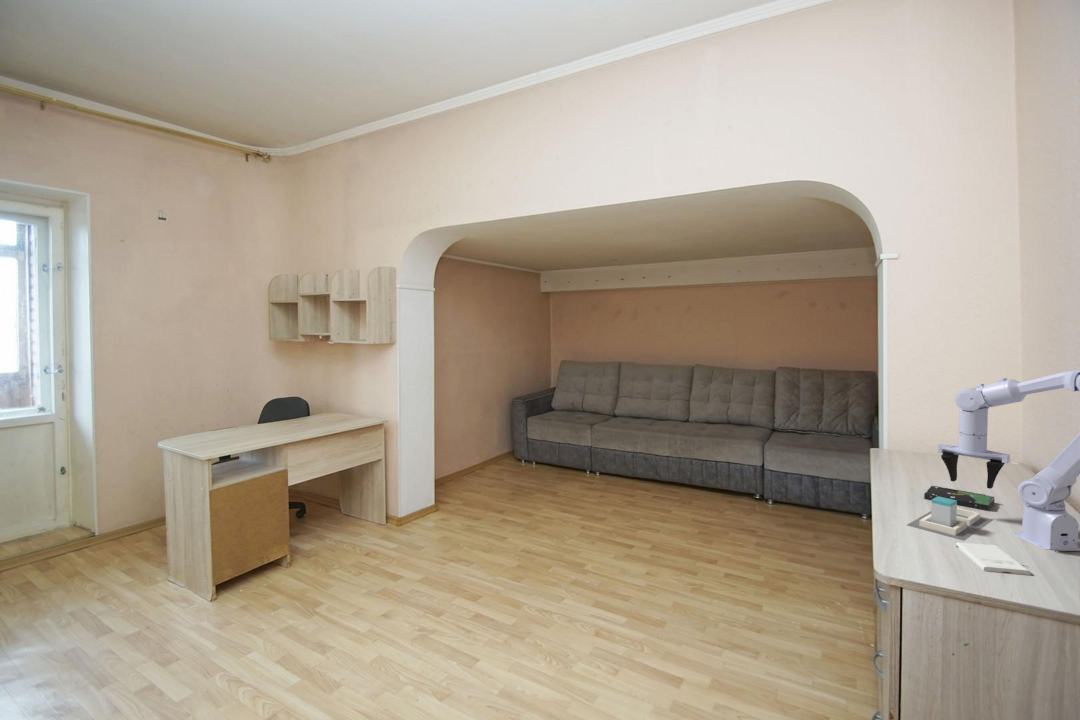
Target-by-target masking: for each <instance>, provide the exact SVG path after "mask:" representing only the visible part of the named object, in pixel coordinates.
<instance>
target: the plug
mask: <svg viewBox="0 0 1080 720" xmlns="http://www.w3.org/2000/svg"><path fill="white" fill-rule="evenodd" d="M957 506H958V505H957V500H952V499H948V498H943V497H939V496H938V497H936V498H934V499H932V501H931V510H930V511H931V522H932V523H936V524H940V525H944V526H948V527H952V528H953V527H955V526H956V511H957V508H958V507H957Z"/></svg>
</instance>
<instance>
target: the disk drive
mask: <svg viewBox="0 0 1080 720" xmlns="http://www.w3.org/2000/svg"><path fill="white" fill-rule="evenodd" d="M923 495H924V496H923V500H925V501H926V500H928V501H931V502H932V499H934V498H936V497H938V496H939V497H943V498H948V499H952V500H957V506H959V507H964V508H970V509H976V510H978V511H979V510H980V511H986V512H990V511H991V510H992V507H993V506H994V505H995V502H996V501H995V496H993V495H988V494H984V493H983V494H982V493H976V492H971V491H967V490H965V491H964V490H959V489H953V488H947V487H942V486H937V485H931V486H930V487H929V488H928V489H927V491H926V492H924V493H923Z"/></svg>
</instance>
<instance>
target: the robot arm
mask: <svg viewBox="0 0 1080 720" xmlns="http://www.w3.org/2000/svg"><path fill="white" fill-rule="evenodd" d="M1060 389H1065V390H1068V391H1072V392H1078V391H1079V392H1080V369H1076V370H1070V371H1062V372H1059V373H1055V374H1050V375H1047V376H1046V375H1045V376H1042V377H1038V378H1034V379H1029V380H1026V381H1023V382H1022V381H1018V380H1016V379H1013V378H1010V379H1007V378H1006V377H1004V378H998V379H997V382H993V383H988V384H984V383H980V384H977V385H976V387H971V388H968V387H967V388H964V389H961V390H959V391H957V392H956V394H955V396H954V402H955V404H956V406H957V407H958V408H959V409H958V411H959V416H958V445H949V444H948V445H947V444H938V445H937V453H940V454H941V456H940V457H941V460H942V461H943V464H944V465H945V466H946V469H947V471H948V474H949V475H948V476H949V478H950V479H949V480H950V482H955V481H957V480H958V461H959V456H964V457H969V458H975V459H981V460H988V461H986V464H985V465H986V471H987V472H986V473H987V478H986V479H987V480H986V488H987V489H992V488H994V484H995V481H996V478H997V477H998V474H999V472H1000V471H1001V470H1002V468H1003V467H1004V466H1005V464H1009V463H1010V460H1011V459H1010V457H1011V455H1010V454H1009V453H1003V452H998V451H994V450H988V423H989V422H988V420H989V419H988V418H989V416H988V415H989V409H990V408H994V407H998V406H999V407H1000V406H1004V405H1009V404H1014V403H1015V404H1016V403H1020V402H1022V401H1024V399H1025V397H1026V396H1027V395H1032V394H1038V393H1043V392H1047V391H1054V390H1060ZM1079 476H1080V432H1079V433H1078V434H1077V435H1076V436H1075V437H1074V438H1073V439H1072V440H1071V442H1069V443H1068V445H1067V446H1066V447H1064V449H1063V450H1062V451H1061V452H1060V453H1059V454H1058V455H1057V456H1056V457H1055V458H1054V459H1053V461H1051V462H1050V463H1049V464H1048V466H1046V467H1045V468H1043V469H1042V470H1040V471H1039V472H1037V473H1036V474H1034V476H1033V477H1031V478H1029V479H1026V480H1024V481H1022V482H1020V484H1019V485H1018V487H1017V493H1018V495H1019V497H1020V499H1021V500H1022V519H1021V520H1022V521H1021V523H1022V524H1021V531H1019V532H1017V531H1013V532H1011V534H1012V535H1014V536H1016V537H1018V538H1021V539H1023V540H1024V541H1027V542H1029V543H1030V544H1032V545H1035V546H1036V547H1038V548H1040V549H1042V550H1046V551H1048V550H1049V551H1054V550H1055V552H1059V551H1060V552H1070V551H1071V552H1073V551H1075V552H1080V547H1079V522H1078V520H1077V519H1076V518H1075V517H1074V516H1072V515H1071V514H1069V513H1068V512H1067V511H1068V510H1067V509H1066V504H1065V500H1067V499H1068V498H1069V497H1071V494H1072V487H1074V485H1075V484H1077V478H1078V477H1079Z"/></svg>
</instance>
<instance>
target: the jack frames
mask: <svg viewBox="0 0 1080 720" xmlns="http://www.w3.org/2000/svg"><path fill="white" fill-rule="evenodd" d="M956 514H958V515H962V516H967V517H969V518H963V517H959V516H956V526H955V527H953V528H952V527H948V526H944V525H940V524H936V523H932V522H931V514H929V515H928V516H926V517H924V518H923V519H921V520H919V526H922V527H925V528H929V529H933V530H937V531H940V532H944V533H948V534H952V535H957V534H958V533H960V532H961V531H963V530H964V529H966V528H967V525H968V526H970V525H972V524H973V523H975V522H976V521H978V520H979V519H980V517H981V512H976V511H973V510H969V509H963V508H960V507H957V511H956Z"/></svg>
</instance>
